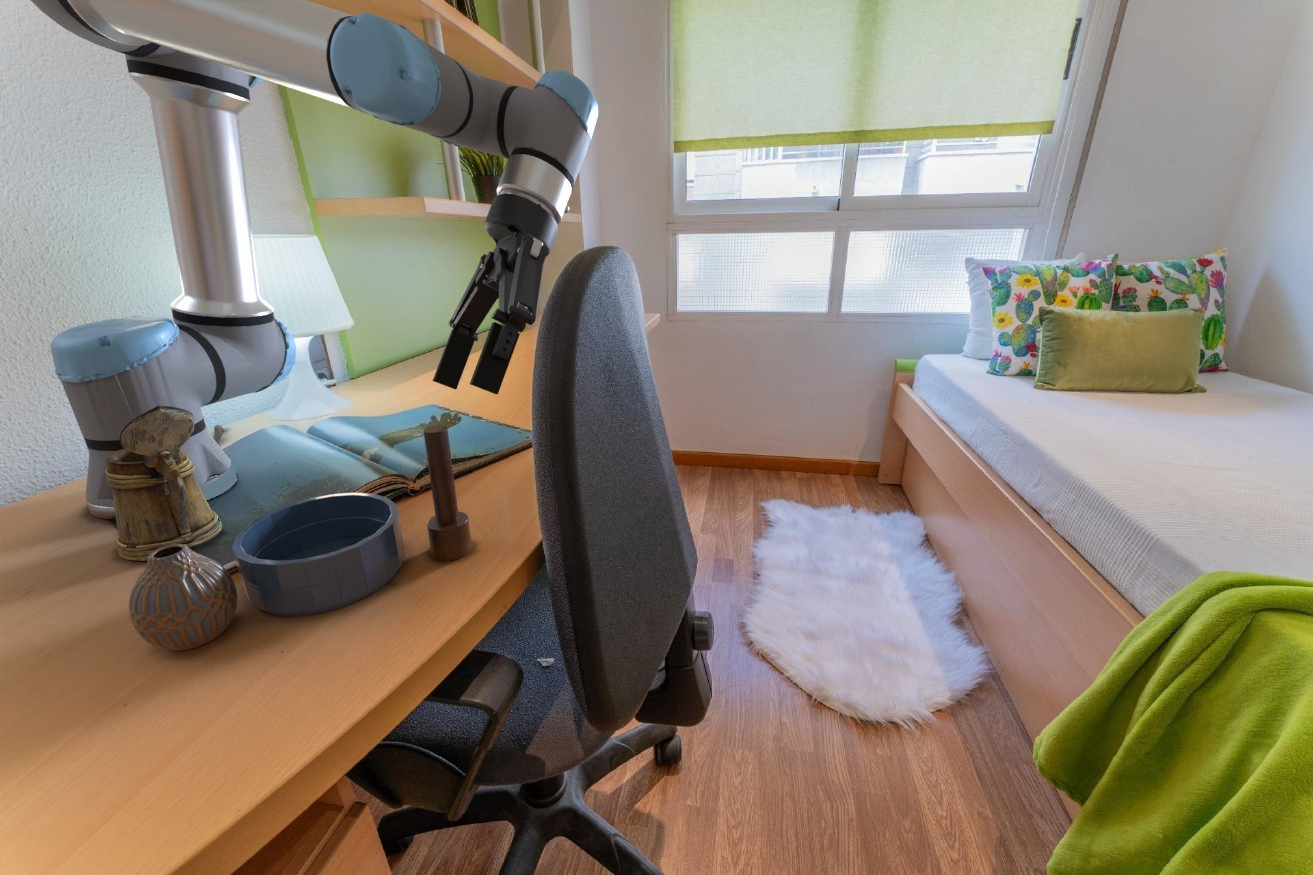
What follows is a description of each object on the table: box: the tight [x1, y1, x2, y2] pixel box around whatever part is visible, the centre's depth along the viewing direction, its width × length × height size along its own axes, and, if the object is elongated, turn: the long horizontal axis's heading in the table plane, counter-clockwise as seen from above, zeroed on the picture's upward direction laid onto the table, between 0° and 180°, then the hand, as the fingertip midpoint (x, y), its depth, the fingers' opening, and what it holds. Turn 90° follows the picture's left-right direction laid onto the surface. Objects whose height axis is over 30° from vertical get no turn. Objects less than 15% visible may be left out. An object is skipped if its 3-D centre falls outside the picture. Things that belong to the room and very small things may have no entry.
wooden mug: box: [105, 406, 223, 562], centre depth 57 cm, size 9×14×18 cm, turn 61°
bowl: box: [231, 492, 406, 617], centre depth 55 cm, size 14×14×6 cm
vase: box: [128, 544, 238, 651], centre depth 45 cm, size 7×7×9 cm
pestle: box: [422, 424, 473, 562], centre depth 58 cm, size 4×4×15 cm
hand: (462, 387), depth 56 cm, fingers open, 13 cm apart
